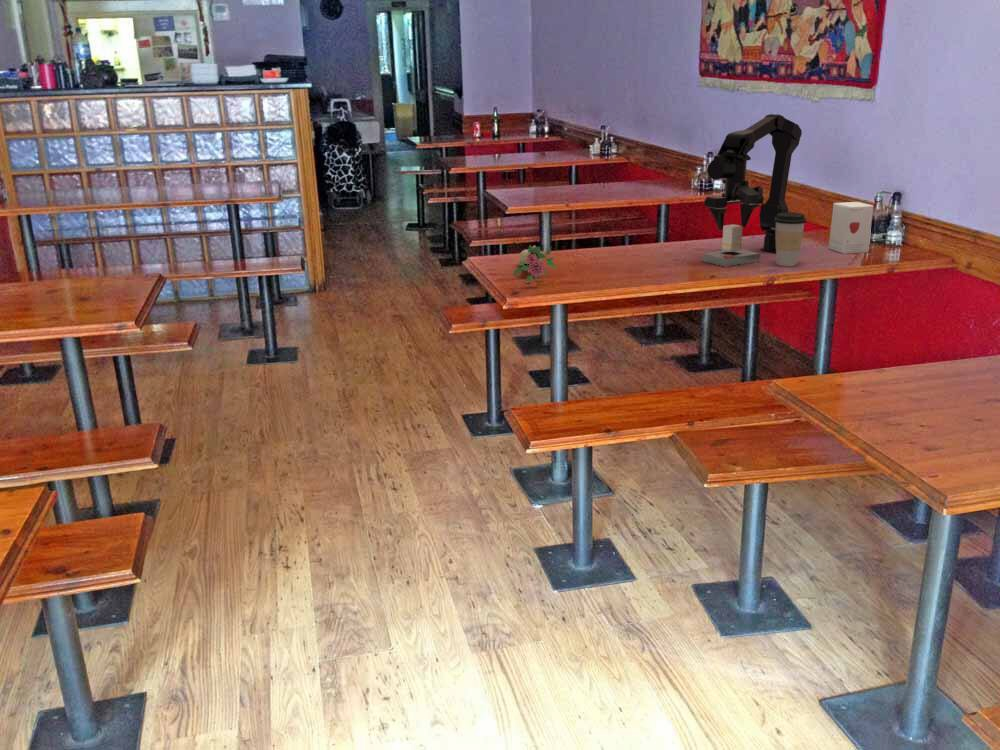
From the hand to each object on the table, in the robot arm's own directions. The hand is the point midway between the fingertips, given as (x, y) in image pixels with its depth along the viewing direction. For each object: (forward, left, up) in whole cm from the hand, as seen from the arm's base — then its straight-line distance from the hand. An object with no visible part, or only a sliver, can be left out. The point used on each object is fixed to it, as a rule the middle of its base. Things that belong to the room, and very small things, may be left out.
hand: (732, 228), depth 283 cm
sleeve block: (0, 0, -10) cm, 10 cm away
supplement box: (-42, +8, -10) cm, 44 cm away
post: (0, 0, -7) cm, 7 cm away
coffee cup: (-11, +12, -10) cm, 20 cm away
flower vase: (+61, -15, -10) cm, 64 cm away
